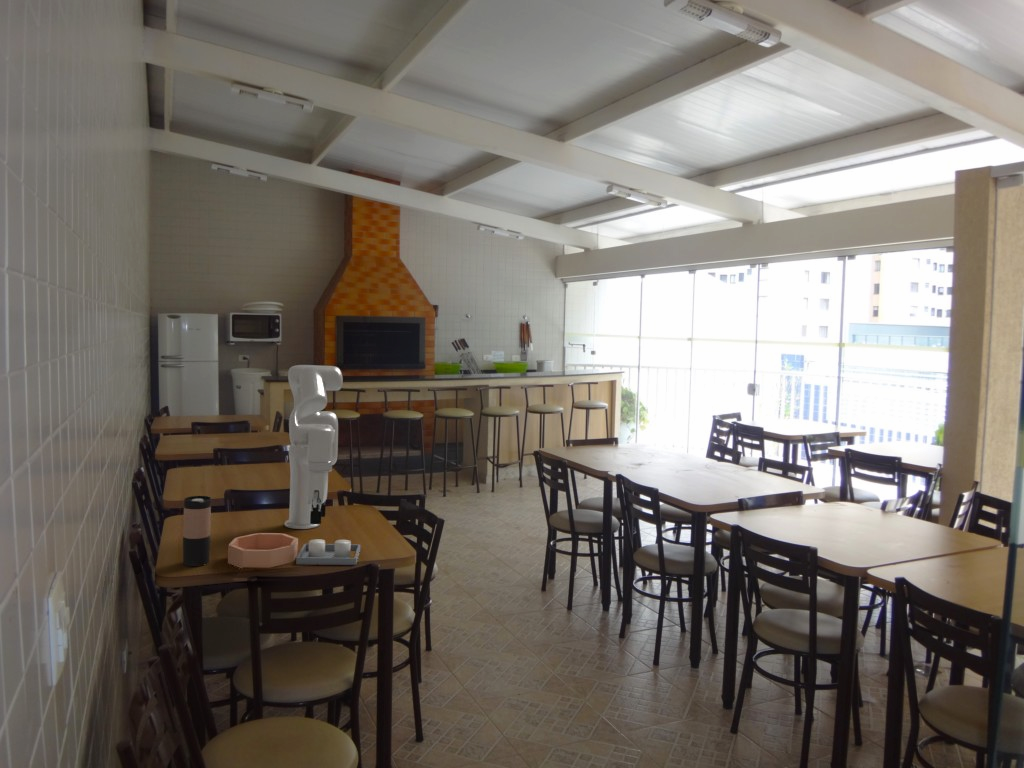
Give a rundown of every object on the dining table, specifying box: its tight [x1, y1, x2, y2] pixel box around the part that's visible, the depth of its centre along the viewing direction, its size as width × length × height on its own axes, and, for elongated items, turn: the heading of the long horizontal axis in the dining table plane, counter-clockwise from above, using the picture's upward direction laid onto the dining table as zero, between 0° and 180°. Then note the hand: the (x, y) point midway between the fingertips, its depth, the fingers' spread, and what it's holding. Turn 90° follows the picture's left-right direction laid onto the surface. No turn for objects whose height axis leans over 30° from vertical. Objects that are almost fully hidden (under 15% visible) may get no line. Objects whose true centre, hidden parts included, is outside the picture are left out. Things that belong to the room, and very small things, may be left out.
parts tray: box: [295, 543, 361, 566], centre depth 229 cm, size 15×18×3 cm
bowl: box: [227, 532, 299, 570], centre depth 225 cm, size 20×20×6 cm
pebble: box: [334, 539, 352, 558], centre depth 229 cm, size 5×5×5 cm
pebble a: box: [308, 538, 326, 557], centre depth 228 cm, size 5×5×5 cm
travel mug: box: [182, 495, 212, 567], centre depth 218 cm, size 8×8×20 cm
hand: (317, 520), depth 227 cm, fingers open, 9 cm apart
